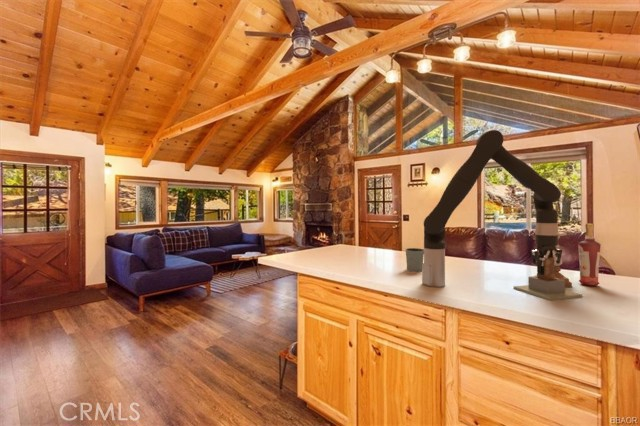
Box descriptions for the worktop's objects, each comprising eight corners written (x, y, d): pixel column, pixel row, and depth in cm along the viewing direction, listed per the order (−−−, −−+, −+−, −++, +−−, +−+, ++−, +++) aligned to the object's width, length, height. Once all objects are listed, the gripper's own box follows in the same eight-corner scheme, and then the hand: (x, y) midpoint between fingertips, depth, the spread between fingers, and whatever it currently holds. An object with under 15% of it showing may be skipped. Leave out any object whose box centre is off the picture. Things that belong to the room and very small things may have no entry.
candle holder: (560, 280, 137) (561, 231, 136) (572, 287, 127) (573, 233, 126) (533, 279, 141) (534, 231, 140) (543, 285, 130) (543, 233, 130)
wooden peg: (546, 292, 117) (546, 258, 116) (537, 289, 121) (537, 256, 120) (554, 291, 118) (554, 257, 117) (545, 288, 122) (545, 255, 121)
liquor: (604, 287, 125) (604, 224, 124) (582, 286, 127) (583, 224, 126) (594, 283, 132) (595, 223, 131) (574, 282, 134) (575, 223, 133)
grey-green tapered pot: (416, 267, 170) (416, 247, 170) (428, 271, 161) (427, 250, 160) (402, 269, 167) (401, 248, 167) (412, 272, 157) (412, 251, 157)
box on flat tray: (549, 300, 110) (550, 285, 110) (513, 288, 125) (513, 275, 125) (582, 296, 113) (582, 282, 113) (542, 286, 129) (543, 272, 129)
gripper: (541, 235, 113) (541, 277, 114) (569, 234, 117) (569, 275, 117) (524, 233, 121) (523, 273, 121) (551, 232, 124) (551, 271, 124)
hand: (546, 274), depth 119 cm, fingers open, 5 cm apart
